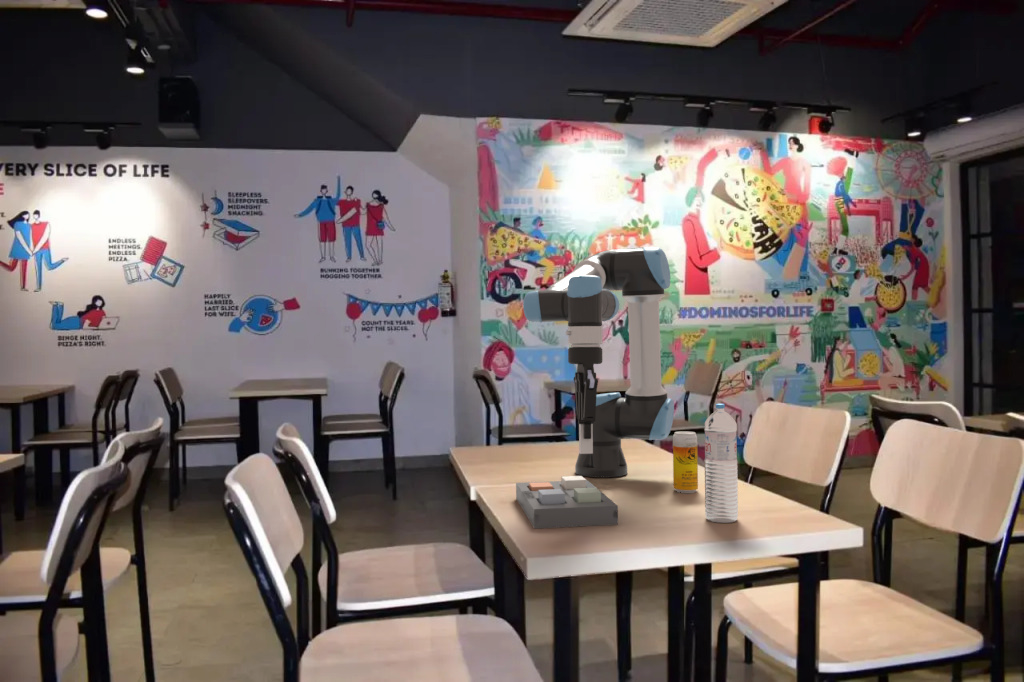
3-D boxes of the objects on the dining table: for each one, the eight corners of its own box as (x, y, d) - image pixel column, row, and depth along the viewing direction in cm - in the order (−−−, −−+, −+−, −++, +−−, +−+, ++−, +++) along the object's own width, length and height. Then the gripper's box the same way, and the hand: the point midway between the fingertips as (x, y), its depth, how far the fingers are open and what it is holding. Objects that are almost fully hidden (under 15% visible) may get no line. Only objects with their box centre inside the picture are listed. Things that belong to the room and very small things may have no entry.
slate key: (560, 502, 161) (560, 488, 161) (565, 507, 156) (564, 493, 156) (538, 503, 161) (538, 489, 161) (542, 508, 156) (542, 494, 156)
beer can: (684, 494, 181) (683, 434, 181) (668, 490, 186) (667, 432, 186) (703, 491, 184) (702, 433, 184) (686, 487, 189) (686, 430, 189)
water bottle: (733, 525, 151) (731, 406, 151) (701, 521, 155) (699, 404, 155) (741, 518, 157) (740, 403, 157) (710, 514, 161) (709, 402, 161)
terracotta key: (549, 494, 175) (549, 482, 175) (553, 499, 170) (552, 486, 170) (528, 495, 174) (528, 482, 174) (532, 499, 169) (532, 487, 169)
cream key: (581, 488, 176) (581, 475, 176) (586, 492, 171) (586, 479, 171) (561, 488, 175) (561, 476, 175) (565, 493, 170) (565, 480, 170)
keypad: (587, 496, 181) (587, 480, 181) (618, 524, 153) (617, 505, 153) (516, 498, 179) (516, 482, 179) (534, 528, 151) (534, 509, 151)
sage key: (595, 500, 162) (595, 487, 162) (601, 506, 157) (600, 492, 157) (573, 501, 162) (573, 488, 162) (578, 506, 157) (578, 493, 157)
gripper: (562, 346, 165) (563, 449, 165) (574, 346, 152) (575, 458, 152) (594, 346, 166) (595, 448, 166) (609, 345, 153) (610, 457, 153)
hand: (586, 453), depth 159 cm, fingers closed
